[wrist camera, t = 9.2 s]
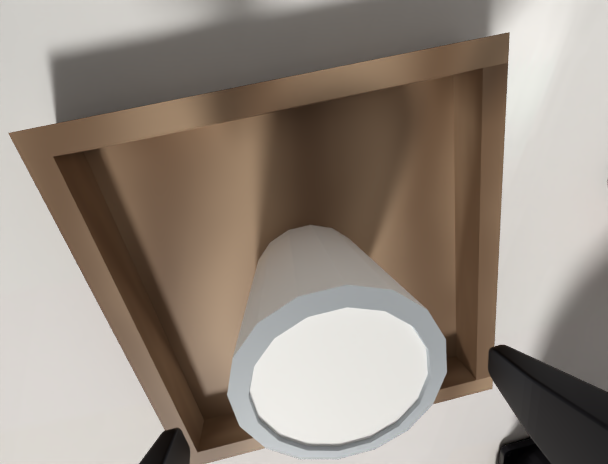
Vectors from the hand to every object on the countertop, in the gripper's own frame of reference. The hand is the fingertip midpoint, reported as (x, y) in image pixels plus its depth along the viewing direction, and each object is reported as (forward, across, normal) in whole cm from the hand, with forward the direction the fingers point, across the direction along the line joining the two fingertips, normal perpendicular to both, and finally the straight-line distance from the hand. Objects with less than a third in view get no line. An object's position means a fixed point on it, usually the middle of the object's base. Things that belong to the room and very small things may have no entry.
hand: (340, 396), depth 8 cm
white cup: (+8, 0, 0) cm, 8 cm away
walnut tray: (+8, 0, 0) cm, 8 cm away
